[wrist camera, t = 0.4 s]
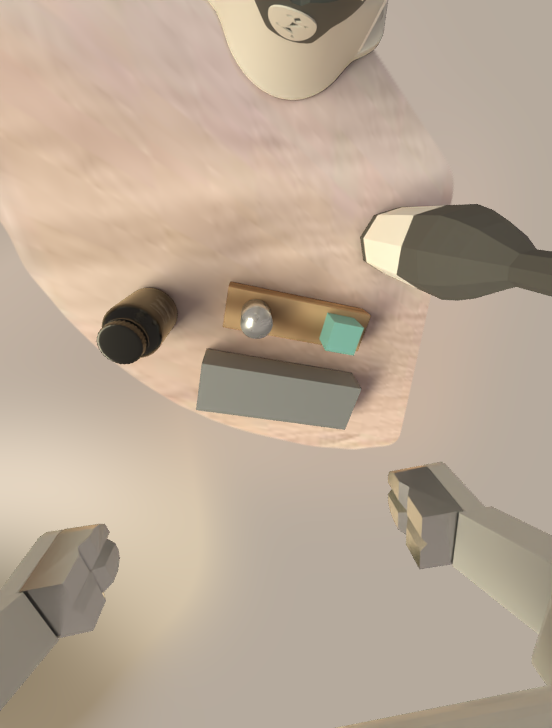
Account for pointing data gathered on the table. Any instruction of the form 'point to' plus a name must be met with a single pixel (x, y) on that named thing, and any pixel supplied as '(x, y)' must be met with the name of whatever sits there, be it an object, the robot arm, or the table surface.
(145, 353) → the supplement bottle
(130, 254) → the table surface
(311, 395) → the dock
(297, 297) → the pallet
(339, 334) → the mint green cube
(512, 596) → the robot arm
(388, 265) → the wine bottle
